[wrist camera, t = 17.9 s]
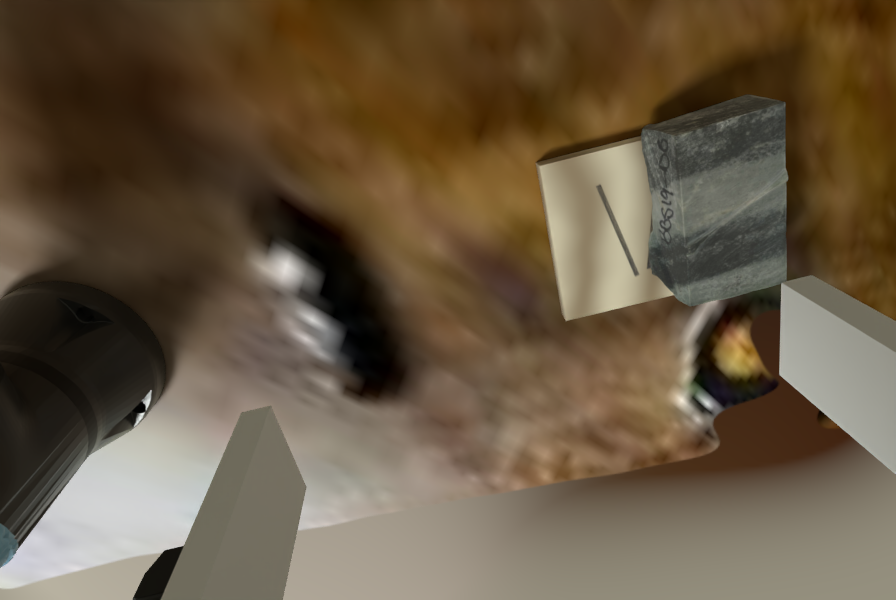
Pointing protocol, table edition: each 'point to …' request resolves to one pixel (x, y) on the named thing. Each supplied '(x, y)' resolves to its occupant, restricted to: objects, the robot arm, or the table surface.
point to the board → (600, 228)
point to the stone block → (718, 199)
